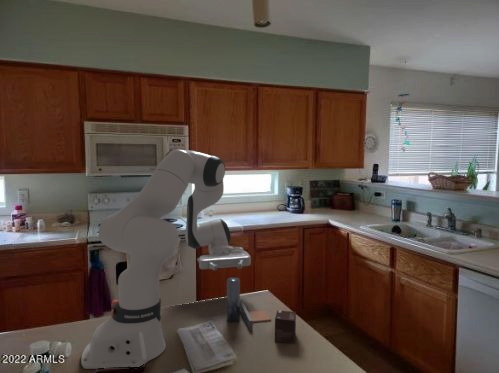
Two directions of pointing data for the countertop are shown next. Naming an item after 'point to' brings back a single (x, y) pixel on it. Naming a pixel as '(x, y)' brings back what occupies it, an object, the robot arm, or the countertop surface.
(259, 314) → the coaster
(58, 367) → the countertop surface
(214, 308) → the countertop surface
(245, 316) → the wall
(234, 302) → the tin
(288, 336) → the box
